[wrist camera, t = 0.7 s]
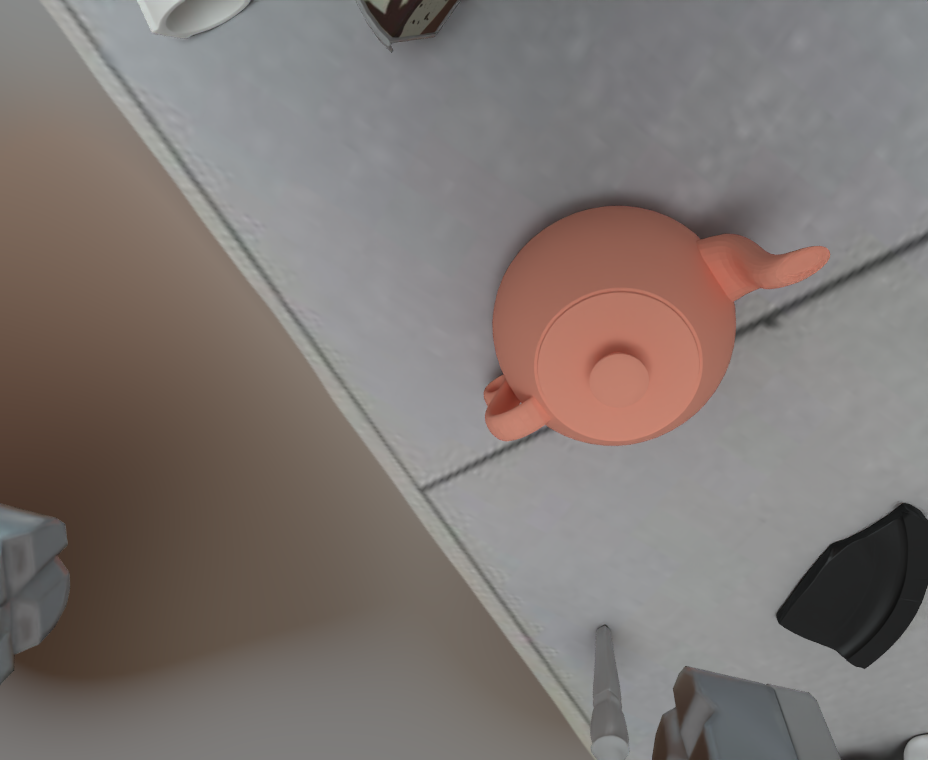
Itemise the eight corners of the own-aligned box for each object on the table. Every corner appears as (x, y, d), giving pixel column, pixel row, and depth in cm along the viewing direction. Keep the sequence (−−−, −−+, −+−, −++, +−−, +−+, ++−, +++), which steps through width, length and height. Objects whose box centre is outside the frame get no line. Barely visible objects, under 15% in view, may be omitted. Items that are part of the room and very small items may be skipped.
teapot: (706, 108, 44) (754, 118, 32) (826, 308, 47) (906, 380, 36) (429, 302, 51) (389, 366, 40) (551, 463, 55) (546, 563, 43)
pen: (625, 630, 60) (639, 779, 47) (600, 645, 61) (608, 795, 48) (605, 612, 60) (614, 757, 47) (581, 627, 61) (584, 774, 48)
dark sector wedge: (976, 535, 52) (987, 548, 51) (860, 656, 58) (867, 671, 56) (876, 488, 52) (885, 500, 50) (769, 615, 57) (774, 629, 56)
